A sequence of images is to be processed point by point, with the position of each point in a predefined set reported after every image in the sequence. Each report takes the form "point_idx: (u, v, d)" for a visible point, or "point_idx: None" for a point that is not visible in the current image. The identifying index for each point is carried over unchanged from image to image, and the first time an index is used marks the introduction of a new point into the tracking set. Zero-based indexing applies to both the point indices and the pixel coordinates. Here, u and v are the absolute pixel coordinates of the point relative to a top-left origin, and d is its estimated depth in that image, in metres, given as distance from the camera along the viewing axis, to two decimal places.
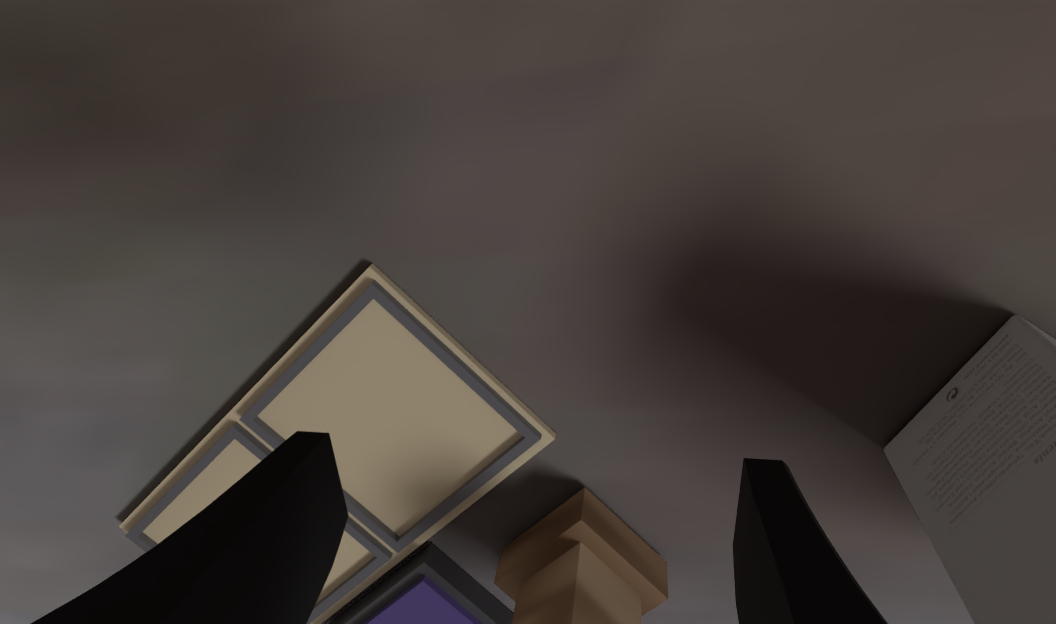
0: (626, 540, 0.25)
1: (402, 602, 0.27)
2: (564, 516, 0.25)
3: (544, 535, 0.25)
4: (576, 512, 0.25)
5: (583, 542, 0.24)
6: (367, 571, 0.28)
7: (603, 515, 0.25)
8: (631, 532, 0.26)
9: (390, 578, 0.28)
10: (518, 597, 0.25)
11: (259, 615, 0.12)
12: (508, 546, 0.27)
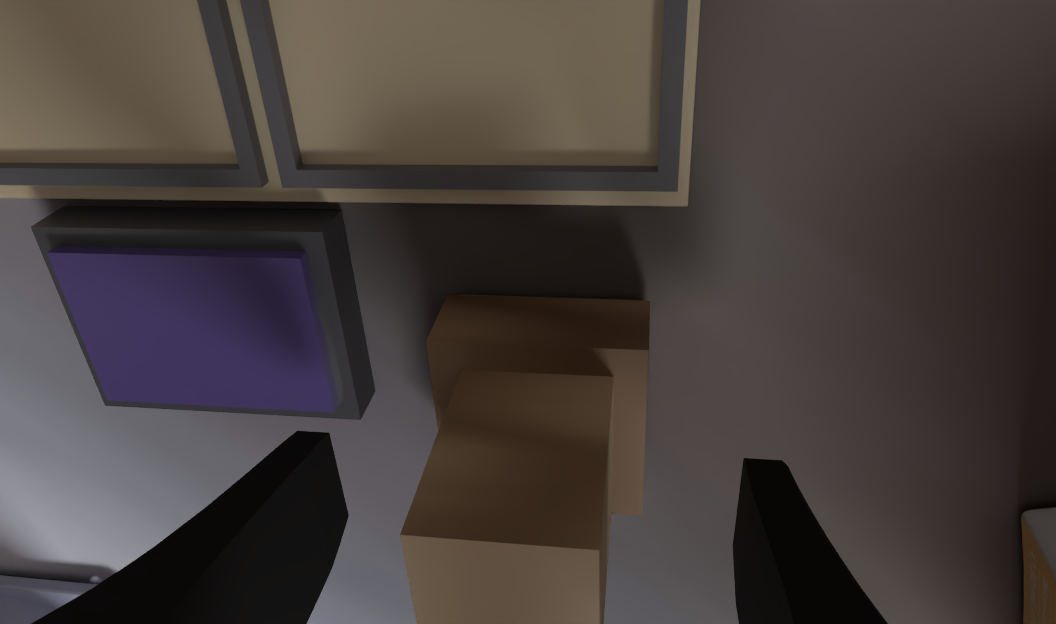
0: None
1: (235, 265, 0.15)
2: (603, 322, 0.14)
3: (553, 326, 0.14)
4: (634, 331, 0.14)
5: (616, 381, 0.14)
6: (204, 178, 0.15)
7: None
8: None
9: (230, 214, 0.15)
10: (459, 390, 0.14)
11: (259, 615, 0.12)
12: (462, 299, 0.15)
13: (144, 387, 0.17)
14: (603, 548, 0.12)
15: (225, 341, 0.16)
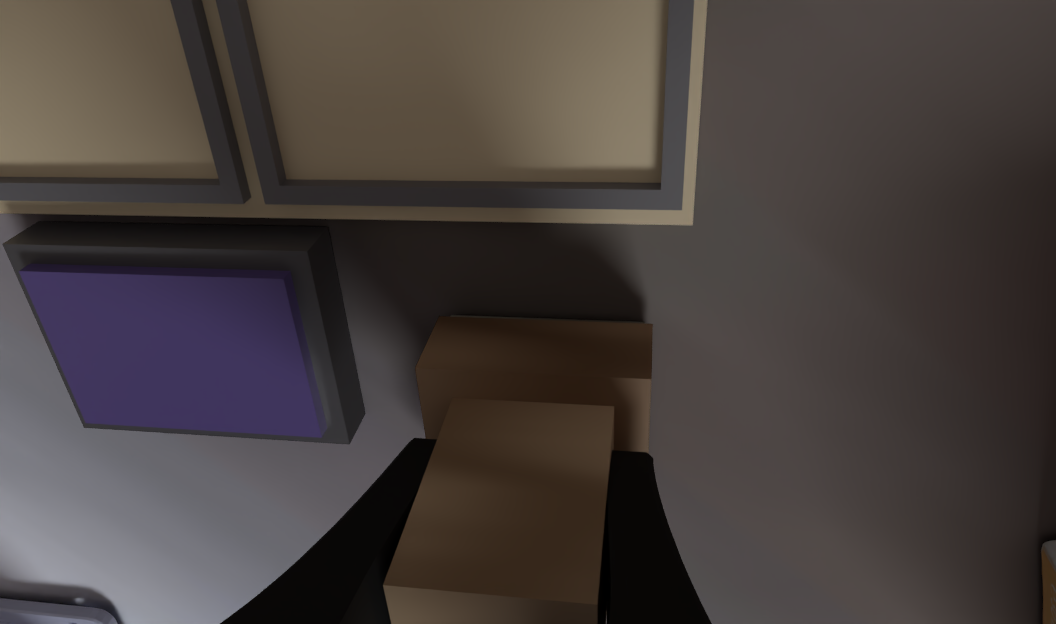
0: None
1: (216, 285, 0.14)
2: (603, 348, 0.14)
3: (550, 352, 0.14)
4: (636, 358, 0.13)
5: (616, 411, 0.13)
6: (182, 193, 0.14)
7: None
8: None
9: (211, 230, 0.14)
10: (449, 420, 0.13)
11: None
12: (455, 321, 0.15)
13: (123, 410, 0.16)
14: (602, 595, 0.11)
15: (207, 363, 0.15)
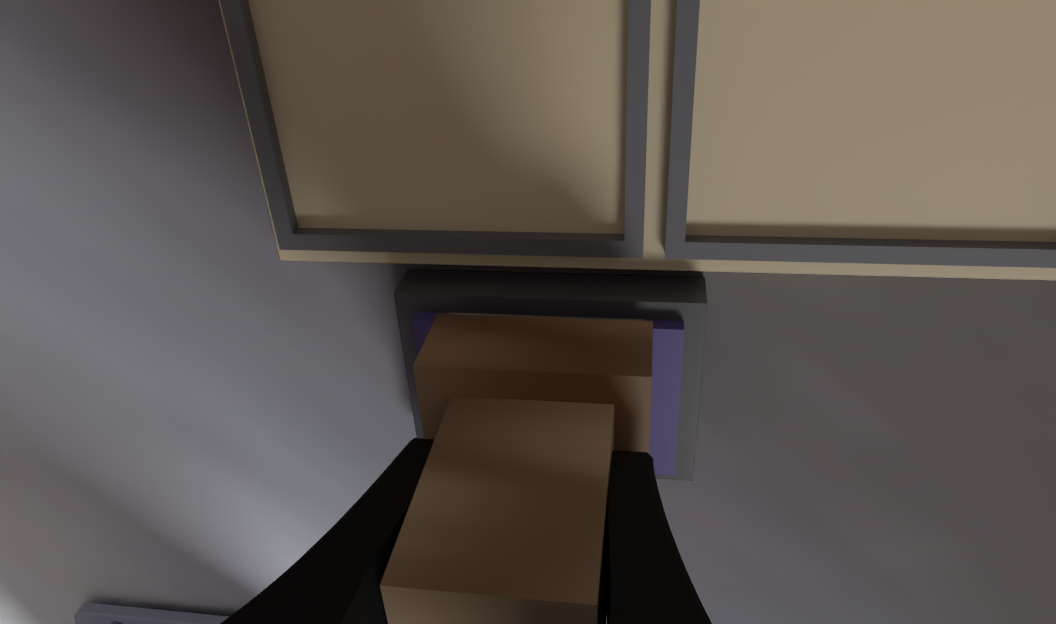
0: None
1: None
2: (603, 345, 0.13)
3: (549, 349, 0.13)
4: (636, 355, 0.13)
5: (617, 409, 0.13)
6: (583, 248, 0.15)
7: None
8: None
9: (591, 281, 0.15)
10: (447, 418, 0.13)
11: None
12: (453, 318, 0.14)
13: None
14: (602, 596, 0.11)
15: None
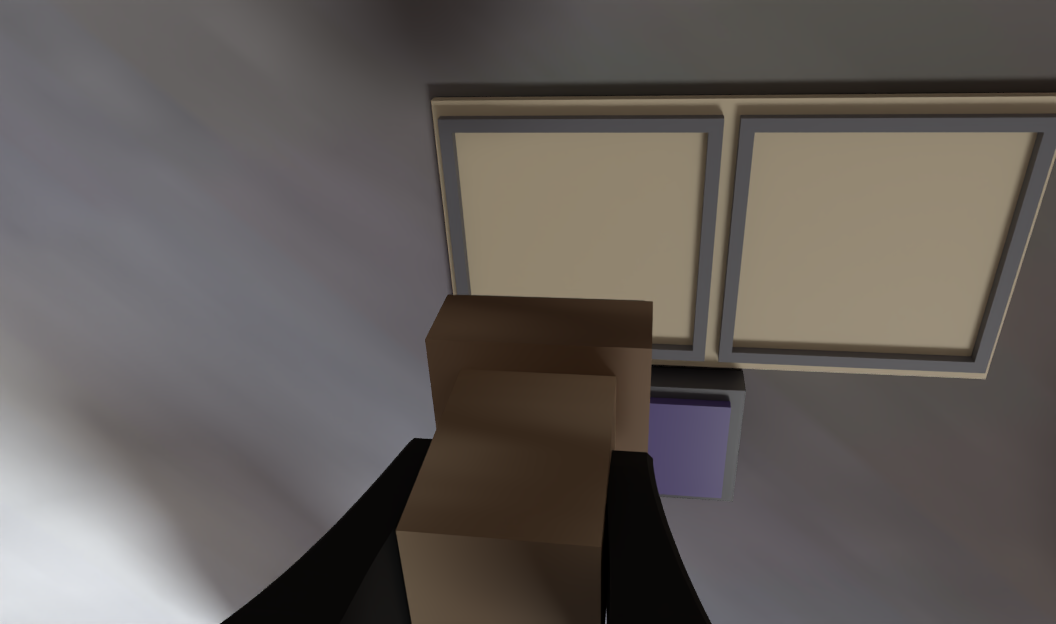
0: None
1: (685, 410, 0.23)
2: (606, 321, 0.14)
3: (555, 325, 0.14)
4: (637, 330, 0.14)
5: (618, 381, 0.14)
6: (665, 354, 0.23)
7: None
8: None
9: (668, 372, 0.23)
10: (458, 388, 0.14)
11: None
12: (463, 298, 0.15)
13: None
14: (605, 548, 0.12)
15: (659, 453, 0.24)
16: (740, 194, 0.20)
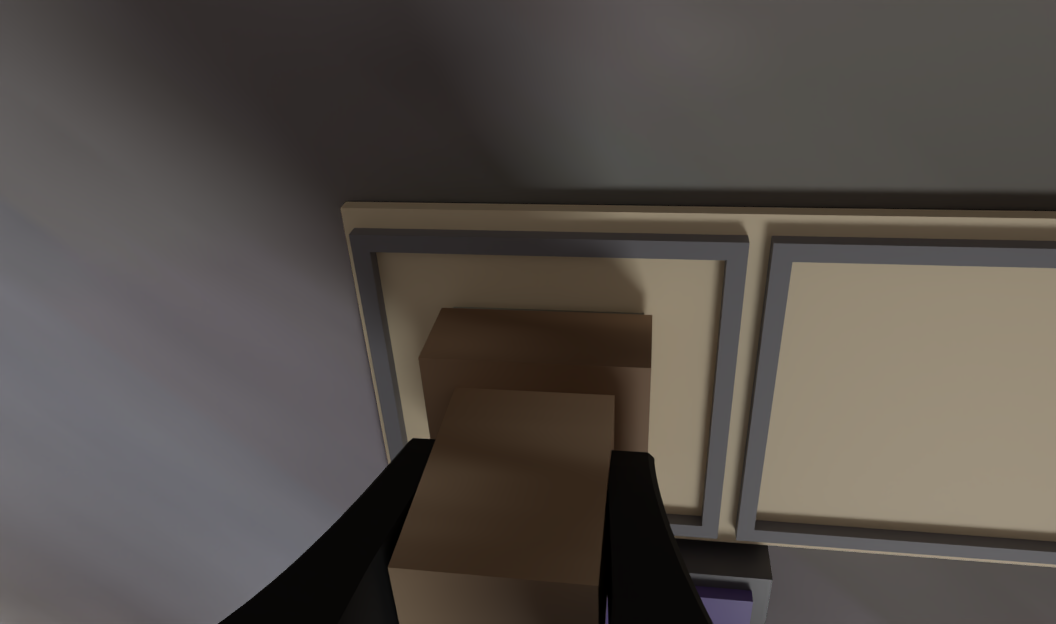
0: None
1: None
2: (604, 338, 0.14)
3: (551, 342, 0.14)
4: (636, 348, 0.13)
5: (617, 399, 0.13)
6: None
7: None
8: None
9: None
10: (452, 409, 0.13)
11: None
12: (457, 312, 0.15)
13: None
14: (603, 579, 0.11)
15: None
16: (770, 340, 0.14)
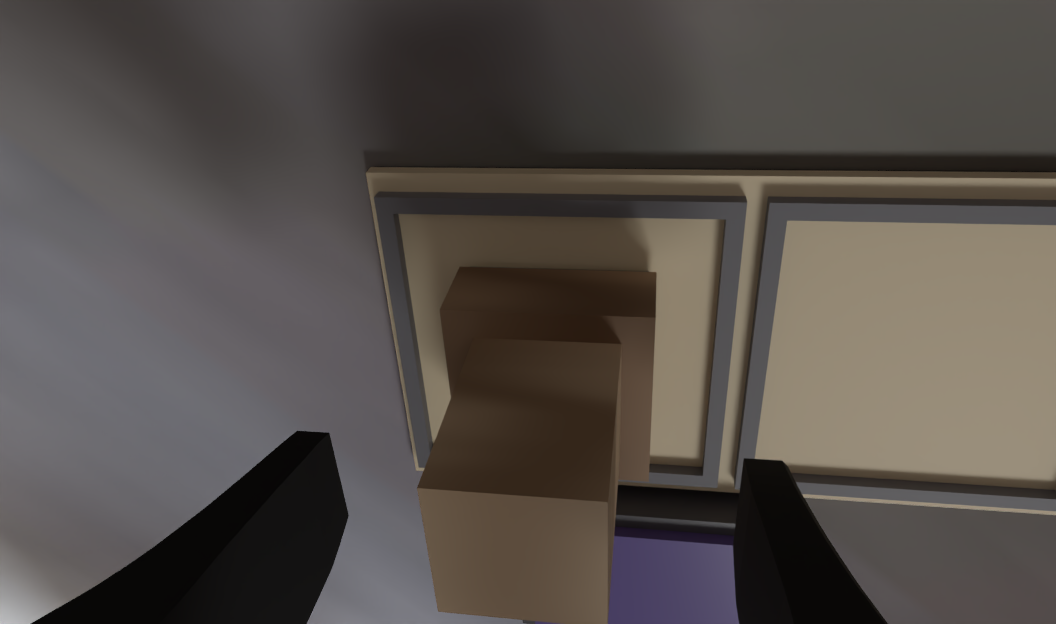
0: None
1: (692, 547, 0.18)
2: (611, 292, 0.15)
3: (563, 296, 0.15)
4: (641, 300, 0.14)
5: (624, 348, 0.14)
6: (669, 479, 0.18)
7: None
8: None
9: (672, 496, 0.19)
10: (471, 356, 0.14)
11: (259, 615, 0.12)
12: (474, 270, 0.16)
13: None
14: (611, 504, 0.12)
15: (660, 593, 0.19)
16: (767, 295, 0.15)
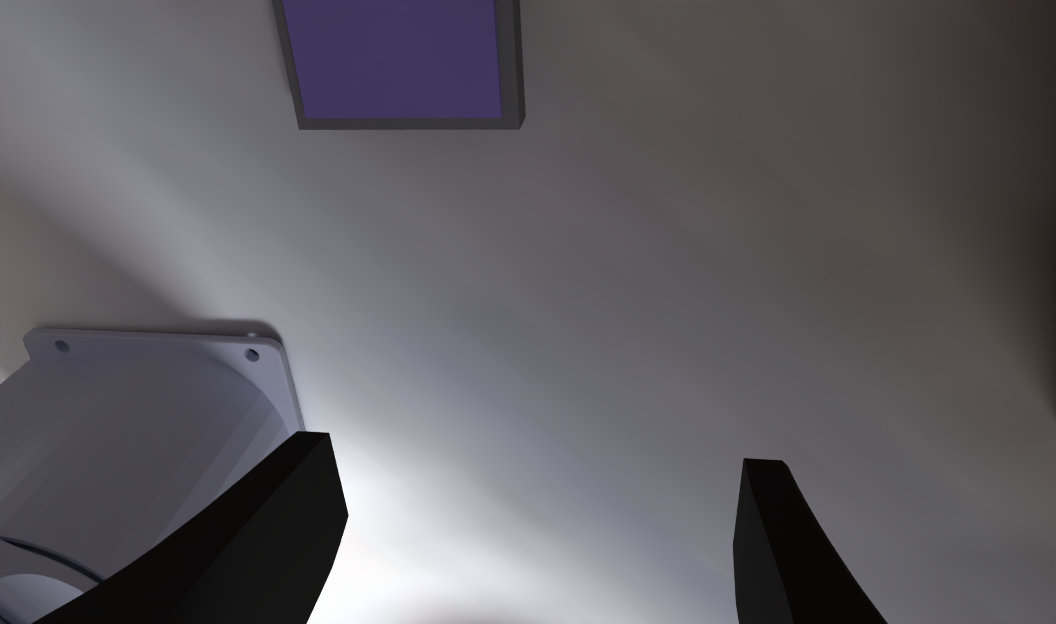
0: None
1: None
2: None
3: None
4: None
5: None
6: None
7: None
8: None
9: None
10: None
11: (258, 615, 0.12)
12: None
13: (340, 102, 0.20)
14: None
15: (416, 50, 0.19)
16: None
